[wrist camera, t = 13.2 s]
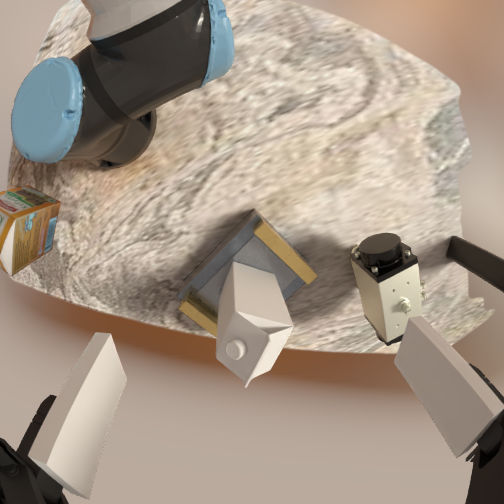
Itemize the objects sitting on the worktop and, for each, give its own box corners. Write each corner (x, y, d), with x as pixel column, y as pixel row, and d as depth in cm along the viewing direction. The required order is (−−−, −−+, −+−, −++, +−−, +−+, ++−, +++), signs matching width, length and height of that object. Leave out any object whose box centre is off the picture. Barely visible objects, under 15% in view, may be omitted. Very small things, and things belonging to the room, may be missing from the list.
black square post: (456, 261, 53) (541, 318, 24) (444, 256, 52) (535, 316, 24) (464, 240, 51) (554, 290, 23) (452, 234, 50) (548, 285, 22)
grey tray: (181, 283, 49) (173, 305, 41) (254, 208, 45) (259, 218, 38) (250, 337, 54) (253, 363, 46) (321, 275, 50) (335, 294, 43)
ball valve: (387, 292, 53) (433, 337, 36) (353, 308, 54) (392, 361, 37) (371, 215, 47) (429, 243, 31) (332, 231, 48) (380, 269, 31)
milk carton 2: (274, 273, 44) (302, 348, 26) (258, 309, 46) (274, 392, 28) (232, 260, 42) (235, 332, 25) (218, 298, 44) (214, 381, 27)
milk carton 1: (20, 230, 42) (-37, 261, 24) (27, 185, 40) (-37, 203, 22) (51, 249, 45) (-5, 288, 27) (61, 202, 42) (-5, 227, 24)
